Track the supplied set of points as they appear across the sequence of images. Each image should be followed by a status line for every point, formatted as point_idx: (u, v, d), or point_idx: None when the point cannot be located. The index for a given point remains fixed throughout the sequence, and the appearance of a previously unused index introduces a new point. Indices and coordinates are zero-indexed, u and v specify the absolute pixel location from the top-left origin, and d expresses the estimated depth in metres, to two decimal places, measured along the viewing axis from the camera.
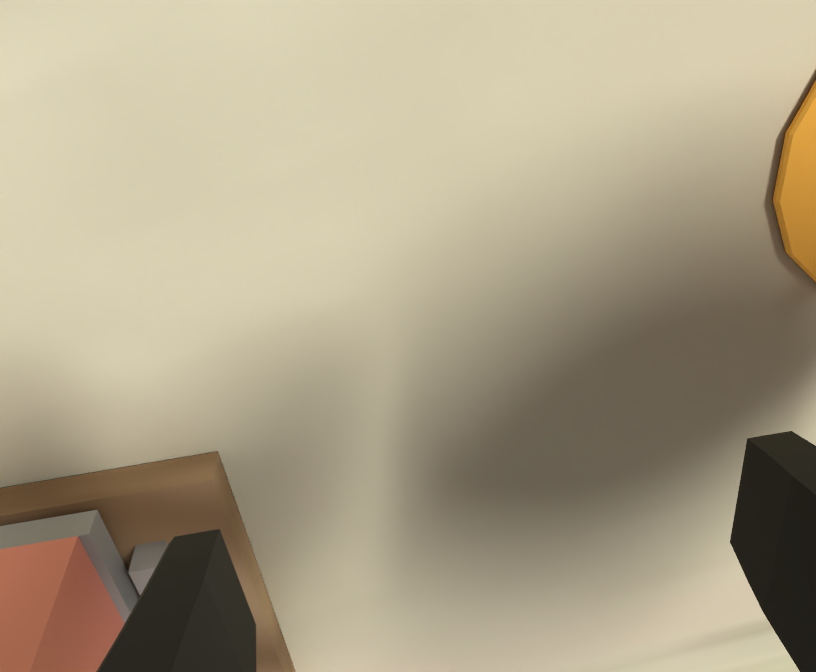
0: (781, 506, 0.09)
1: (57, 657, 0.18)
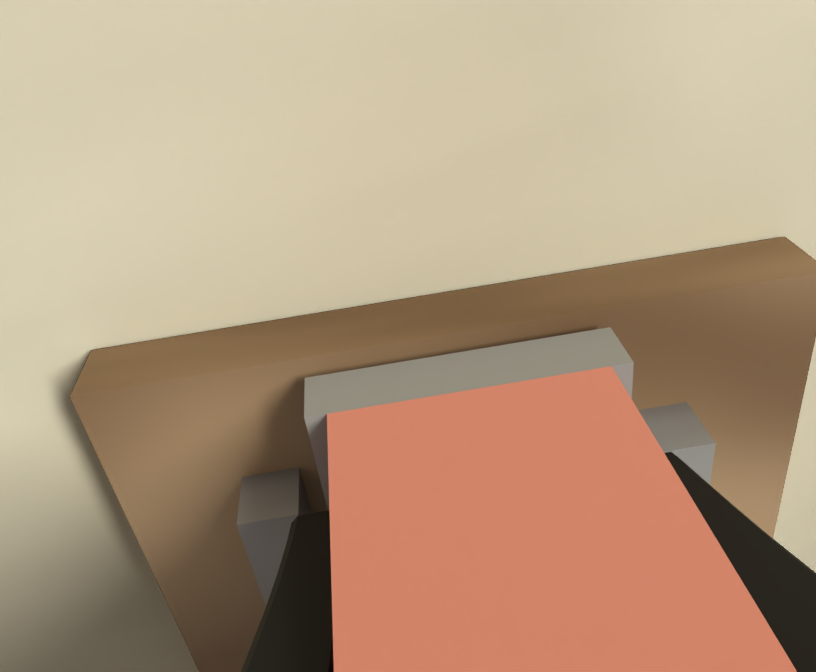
0: None
1: None
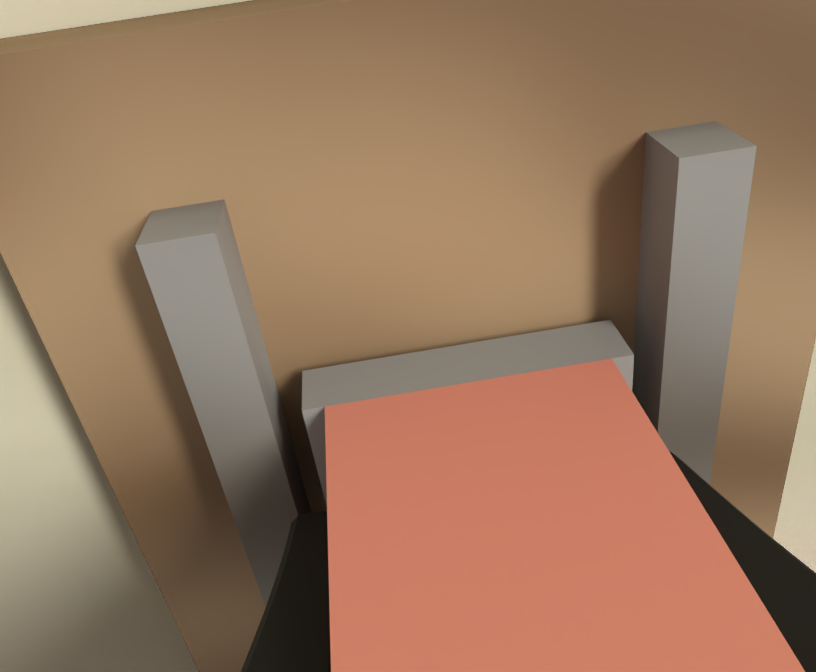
0: None
1: None
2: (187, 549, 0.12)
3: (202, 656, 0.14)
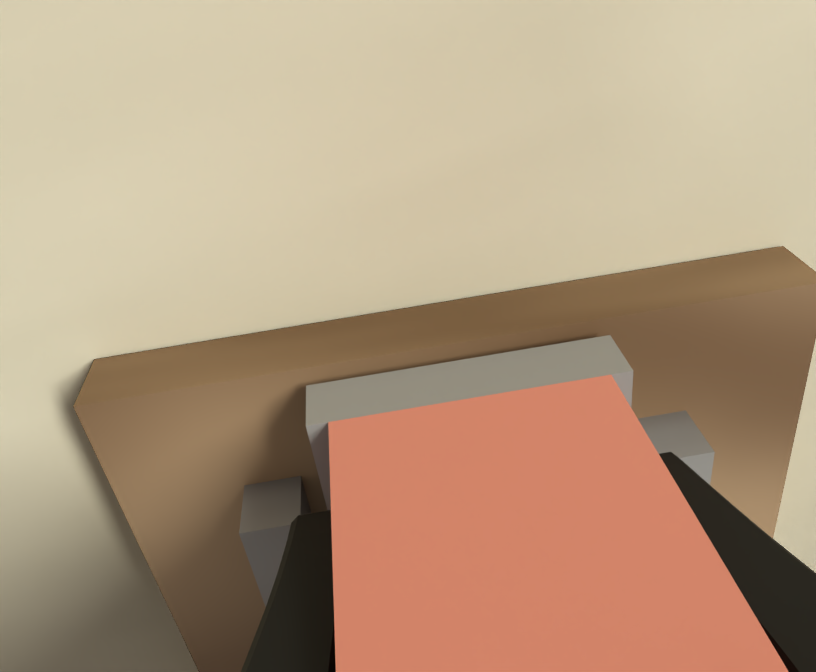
0: None
1: None
2: None
3: None
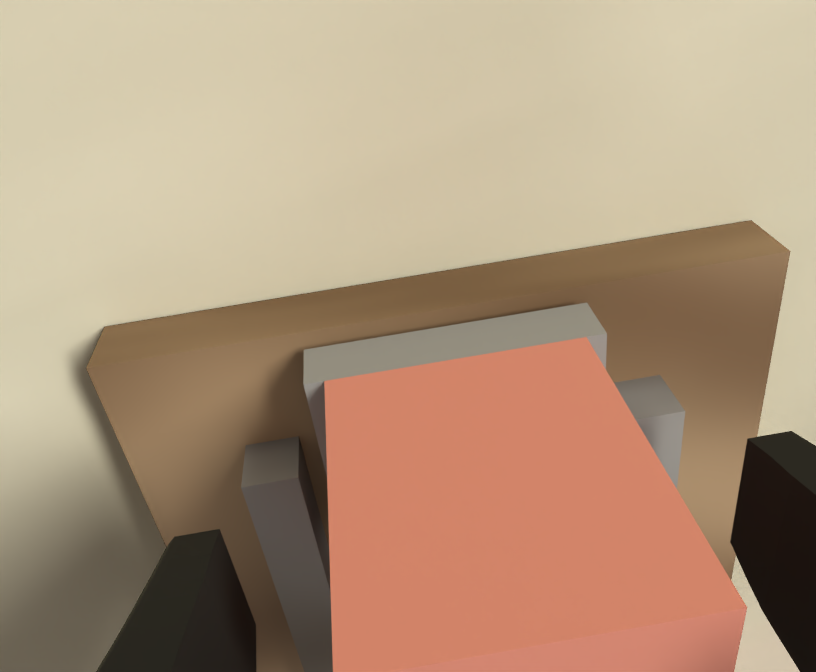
0: (781, 506, 0.09)
1: None
2: None
3: None
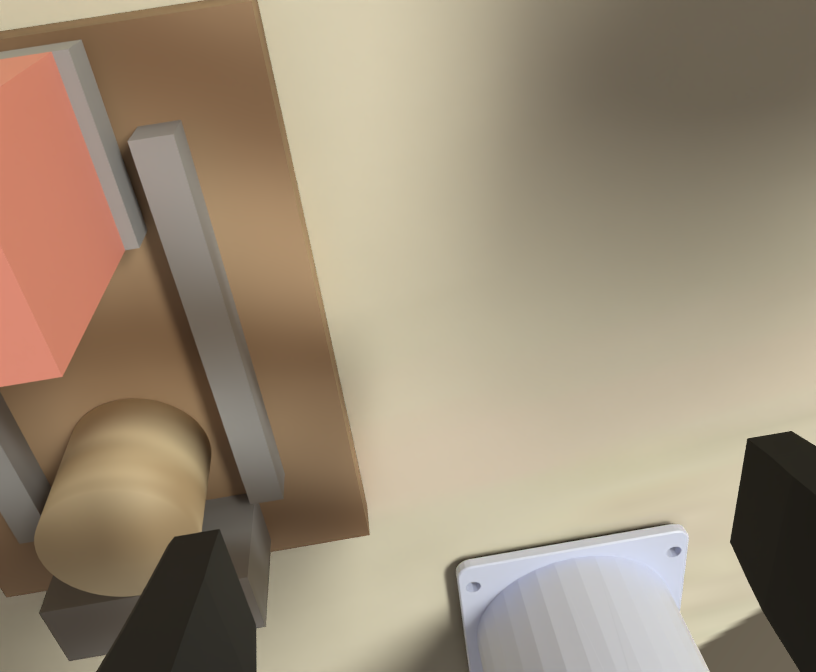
0: (781, 506, 0.09)
1: (14, 154, 0.11)
2: None
3: None
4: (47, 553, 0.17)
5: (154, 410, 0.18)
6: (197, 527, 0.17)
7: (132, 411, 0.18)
